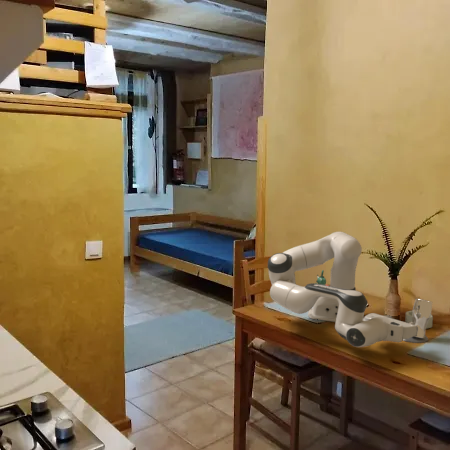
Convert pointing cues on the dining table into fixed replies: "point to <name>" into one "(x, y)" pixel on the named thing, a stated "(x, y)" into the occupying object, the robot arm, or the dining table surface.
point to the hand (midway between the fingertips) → (400, 320)
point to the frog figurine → (321, 279)
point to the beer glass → (421, 316)
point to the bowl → (409, 318)
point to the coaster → (416, 339)
